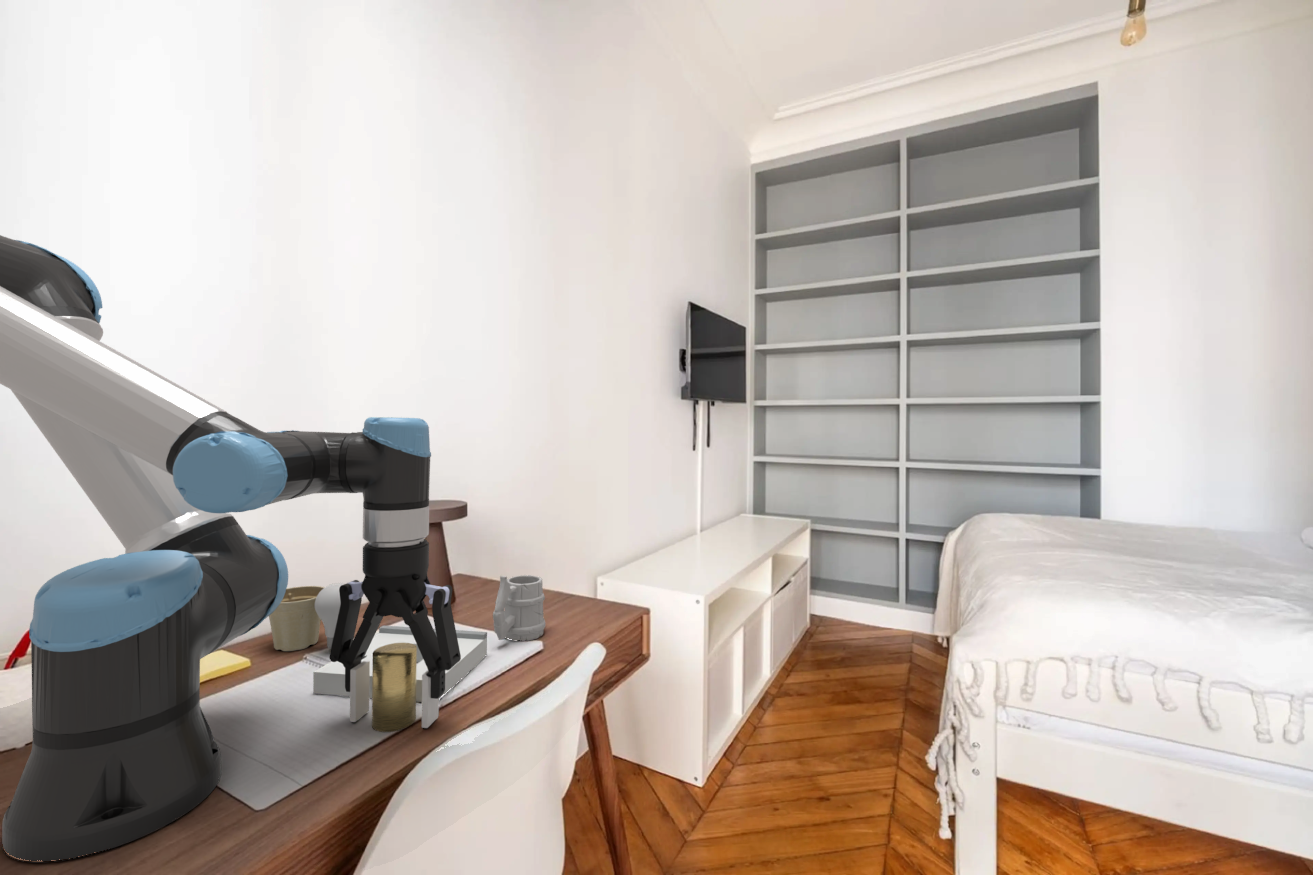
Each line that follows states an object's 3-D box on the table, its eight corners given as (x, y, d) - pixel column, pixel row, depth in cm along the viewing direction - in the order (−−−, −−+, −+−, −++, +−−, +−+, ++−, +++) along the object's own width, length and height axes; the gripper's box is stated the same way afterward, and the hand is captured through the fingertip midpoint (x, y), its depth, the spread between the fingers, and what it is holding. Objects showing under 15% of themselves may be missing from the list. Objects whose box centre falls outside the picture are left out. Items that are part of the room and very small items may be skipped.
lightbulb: (337, 659, 88) (338, 590, 88) (304, 655, 89) (305, 587, 89) (365, 644, 94) (366, 580, 94) (334, 641, 95) (334, 577, 95)
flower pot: (274, 661, 87) (274, 606, 87) (252, 646, 92) (253, 594, 92) (338, 643, 94) (338, 592, 94) (314, 630, 100) (315, 582, 100)
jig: (437, 703, 75) (437, 675, 75) (313, 693, 77) (313, 666, 77) (486, 655, 91) (487, 631, 90) (383, 647, 93) (383, 625, 93)
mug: (553, 630, 102) (554, 565, 102) (513, 653, 91) (514, 581, 91) (519, 623, 105) (520, 560, 105) (476, 646, 94) (477, 575, 94)
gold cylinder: (401, 733, 67) (402, 659, 67) (363, 730, 68) (363, 657, 68) (423, 712, 72) (424, 643, 72) (387, 709, 73) (388, 641, 73)
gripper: (491, 538, 72) (488, 710, 73) (337, 531, 75) (335, 698, 75) (464, 550, 65) (462, 742, 65) (294, 542, 67) (293, 727, 68)
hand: (394, 718), depth 70 cm, fingers open, 9 cm apart
